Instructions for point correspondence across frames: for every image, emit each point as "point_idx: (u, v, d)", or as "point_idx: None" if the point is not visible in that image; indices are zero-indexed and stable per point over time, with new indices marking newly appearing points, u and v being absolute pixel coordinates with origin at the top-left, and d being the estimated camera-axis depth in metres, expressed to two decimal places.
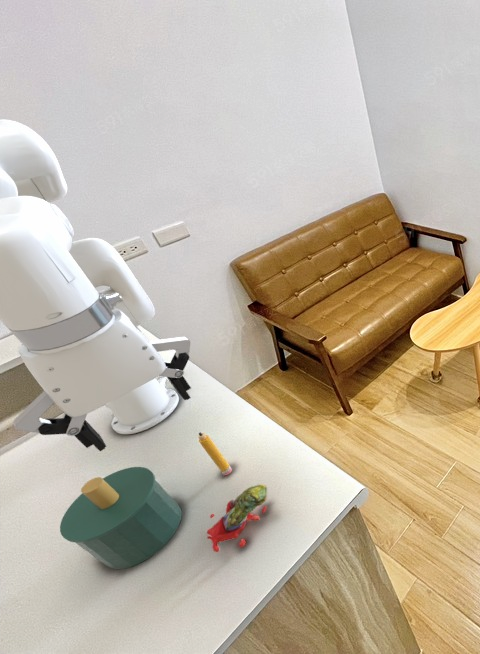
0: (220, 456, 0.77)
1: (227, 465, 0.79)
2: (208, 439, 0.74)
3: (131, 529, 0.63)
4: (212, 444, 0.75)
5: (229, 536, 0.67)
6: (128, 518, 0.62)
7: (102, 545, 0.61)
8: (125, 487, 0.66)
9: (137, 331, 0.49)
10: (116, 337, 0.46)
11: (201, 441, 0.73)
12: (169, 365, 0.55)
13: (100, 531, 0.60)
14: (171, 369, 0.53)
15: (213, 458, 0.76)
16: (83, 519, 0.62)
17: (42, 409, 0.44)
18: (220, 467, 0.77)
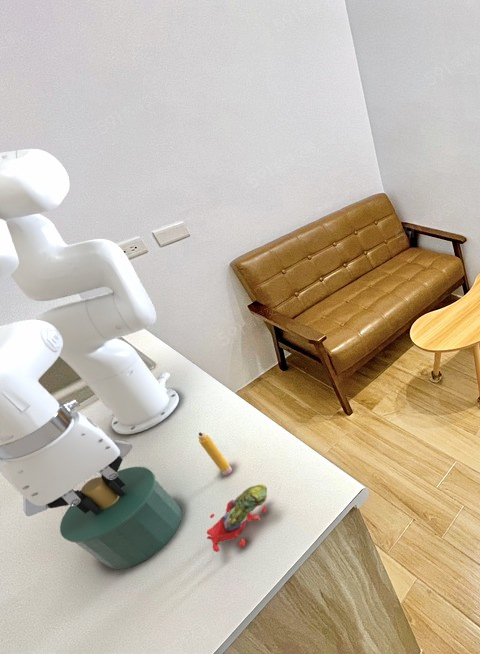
0: (220, 456, 0.77)
1: (227, 465, 0.79)
2: (208, 439, 0.74)
3: (131, 529, 0.63)
4: (212, 444, 0.75)
5: (229, 536, 0.67)
6: (128, 518, 0.62)
7: (102, 545, 0.61)
8: (125, 486, 0.66)
9: (93, 428, 0.59)
10: (75, 437, 0.56)
11: (201, 441, 0.73)
12: None
13: (100, 531, 0.60)
14: (105, 473, 0.62)
15: (213, 458, 0.76)
16: (83, 519, 0.62)
17: None
18: (220, 467, 0.77)
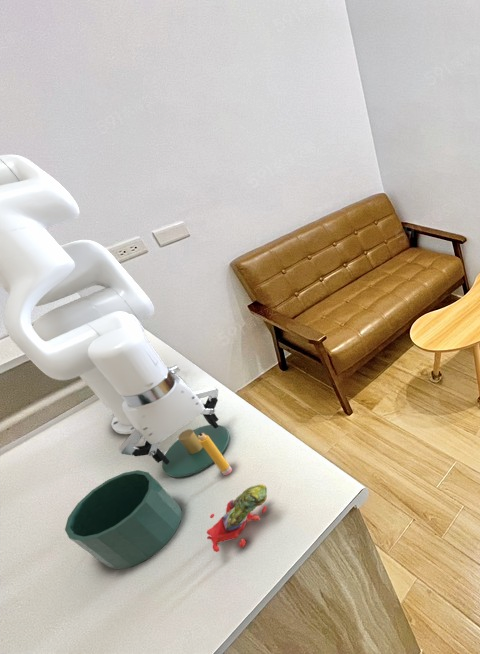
0: (220, 456, 0.77)
1: (227, 465, 0.79)
2: (208, 439, 0.74)
3: (131, 529, 0.63)
4: (212, 444, 0.75)
5: (229, 536, 0.67)
6: None
7: (102, 545, 0.61)
8: None
9: (188, 388, 0.78)
10: (177, 393, 0.75)
11: (201, 441, 0.73)
12: (204, 406, 0.83)
13: (193, 469, 0.79)
14: (207, 409, 0.82)
15: (213, 458, 0.76)
16: (179, 461, 0.81)
17: (135, 440, 0.73)
18: (220, 467, 0.77)
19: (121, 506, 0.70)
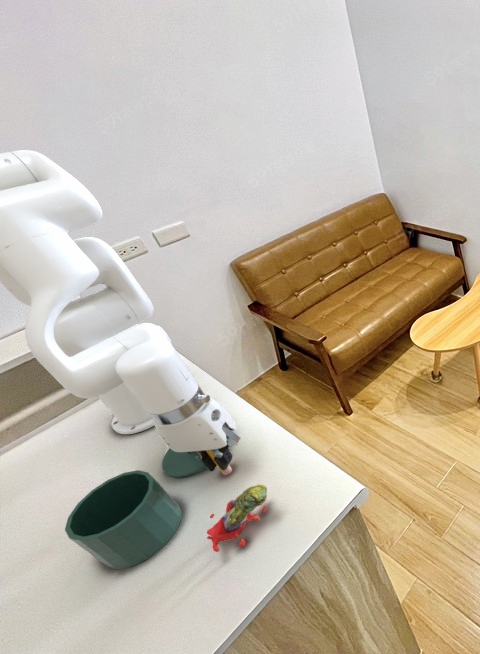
0: None
1: None
2: None
3: (131, 529, 0.63)
4: None
5: (229, 536, 0.67)
6: None
7: (102, 545, 0.61)
8: None
9: (210, 422, 0.69)
10: (193, 424, 0.68)
11: None
12: None
13: (193, 469, 0.79)
14: (213, 452, 0.74)
15: (213, 458, 0.76)
16: (179, 461, 0.81)
17: None
18: None
19: (121, 506, 0.70)
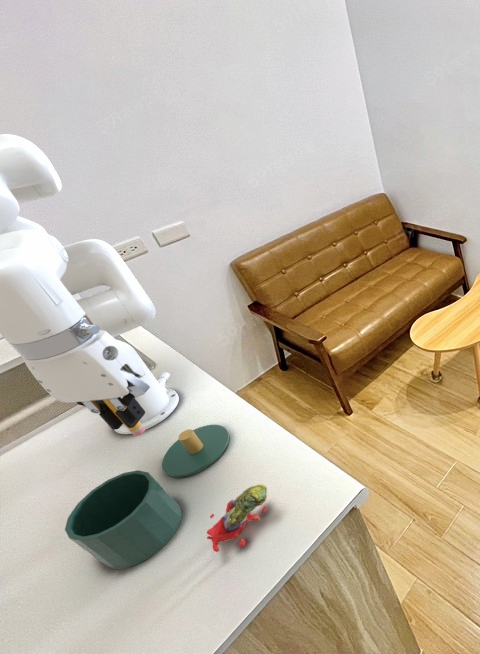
0: None
1: (137, 423, 0.64)
2: None
3: (131, 529, 0.63)
4: None
5: (229, 536, 0.67)
6: (213, 460, 0.81)
7: (102, 545, 0.61)
8: (206, 438, 0.85)
9: (100, 361, 0.54)
10: (77, 362, 0.53)
11: None
12: None
13: (193, 469, 0.79)
14: (113, 403, 0.59)
15: None
16: (179, 461, 0.81)
17: None
18: None
19: (121, 506, 0.70)
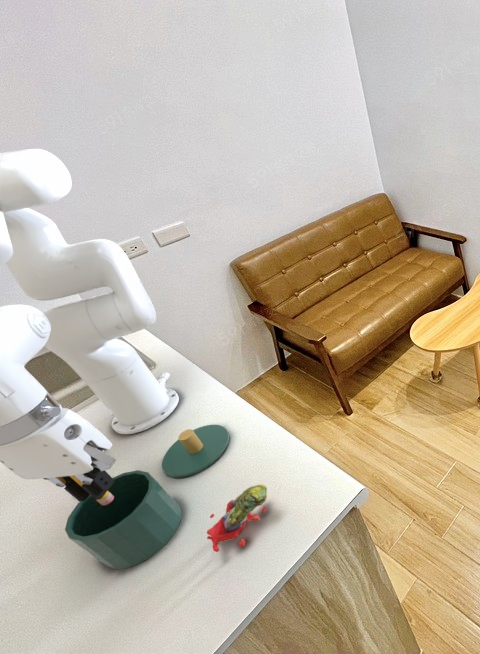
0: None
1: (105, 493, 0.63)
2: None
3: (131, 529, 0.63)
4: None
5: (229, 536, 0.67)
6: (213, 460, 0.81)
7: (102, 545, 0.61)
8: (206, 438, 0.85)
9: (62, 441, 0.54)
10: (37, 444, 0.52)
11: None
12: None
13: (193, 469, 0.79)
14: (79, 478, 0.58)
15: None
16: (179, 461, 0.81)
17: None
18: None
19: (121, 506, 0.70)
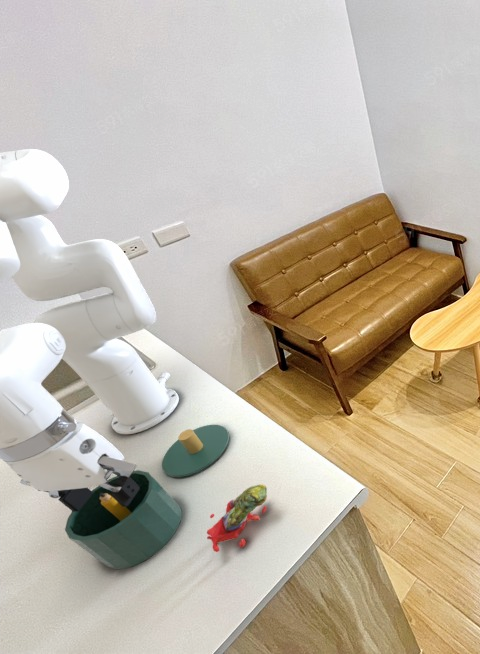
0: None
1: None
2: (112, 500, 0.64)
3: (131, 529, 0.63)
4: (119, 505, 0.65)
5: (229, 536, 0.67)
6: (213, 460, 0.81)
7: (102, 545, 0.61)
8: (206, 438, 0.85)
9: (77, 456, 0.55)
10: (54, 459, 0.54)
11: (103, 503, 0.63)
12: None
13: (193, 469, 0.79)
14: (107, 486, 0.60)
15: (121, 520, 0.66)
16: (179, 461, 0.81)
17: None
18: None
19: None
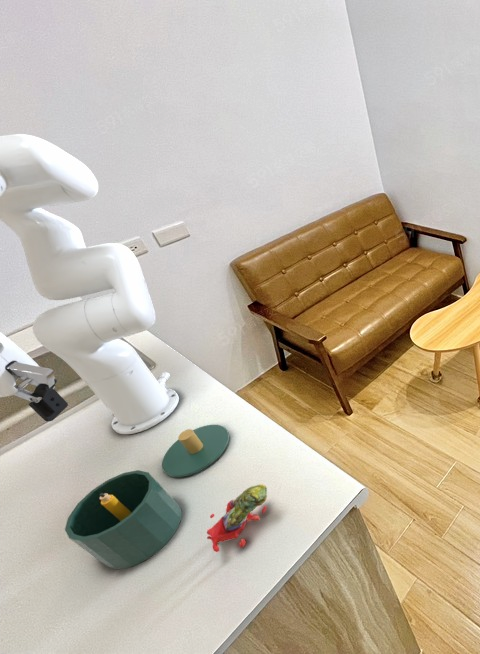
0: None
1: None
2: (112, 500, 0.64)
3: (131, 529, 0.63)
4: (119, 505, 0.65)
5: (229, 536, 0.67)
6: (213, 460, 0.81)
7: (102, 545, 0.61)
8: (206, 438, 0.85)
9: None
10: None
11: (103, 503, 0.63)
12: None
13: (193, 469, 0.79)
14: (25, 394, 0.54)
15: (121, 520, 0.66)
16: (179, 461, 0.81)
17: None
18: None
19: None
